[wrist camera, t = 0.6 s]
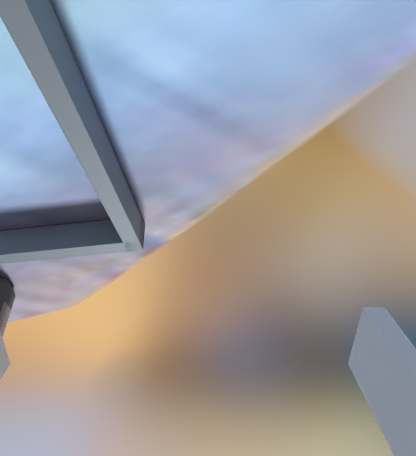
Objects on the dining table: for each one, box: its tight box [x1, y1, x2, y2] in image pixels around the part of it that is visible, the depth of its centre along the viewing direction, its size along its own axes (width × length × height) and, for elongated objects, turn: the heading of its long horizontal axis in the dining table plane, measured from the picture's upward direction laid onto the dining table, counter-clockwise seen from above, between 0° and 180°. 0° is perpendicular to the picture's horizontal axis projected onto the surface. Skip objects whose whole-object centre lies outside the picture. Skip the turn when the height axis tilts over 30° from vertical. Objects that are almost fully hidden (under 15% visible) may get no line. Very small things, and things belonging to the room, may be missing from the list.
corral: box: [0, 0, 145, 264], centre depth 25 cm, size 24×15×3 cm, turn 6°
